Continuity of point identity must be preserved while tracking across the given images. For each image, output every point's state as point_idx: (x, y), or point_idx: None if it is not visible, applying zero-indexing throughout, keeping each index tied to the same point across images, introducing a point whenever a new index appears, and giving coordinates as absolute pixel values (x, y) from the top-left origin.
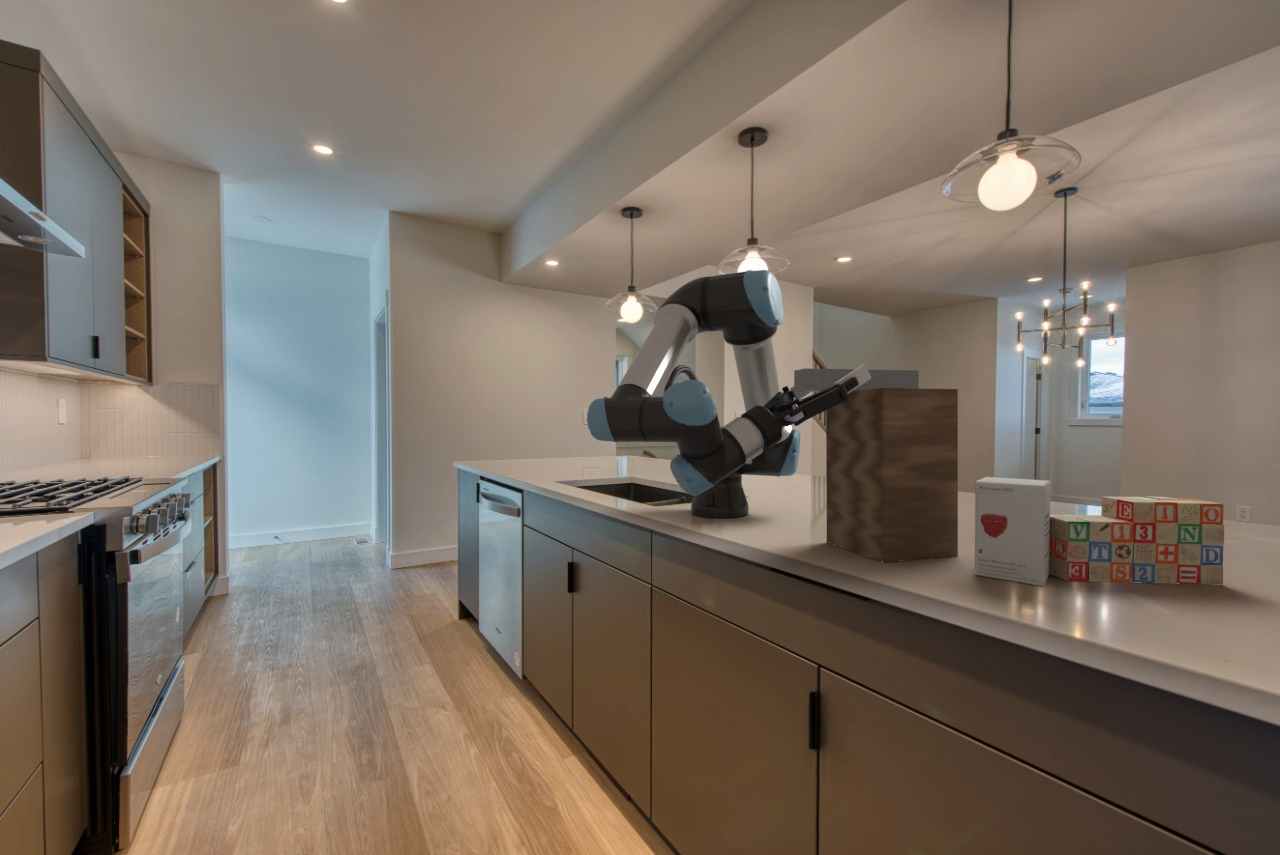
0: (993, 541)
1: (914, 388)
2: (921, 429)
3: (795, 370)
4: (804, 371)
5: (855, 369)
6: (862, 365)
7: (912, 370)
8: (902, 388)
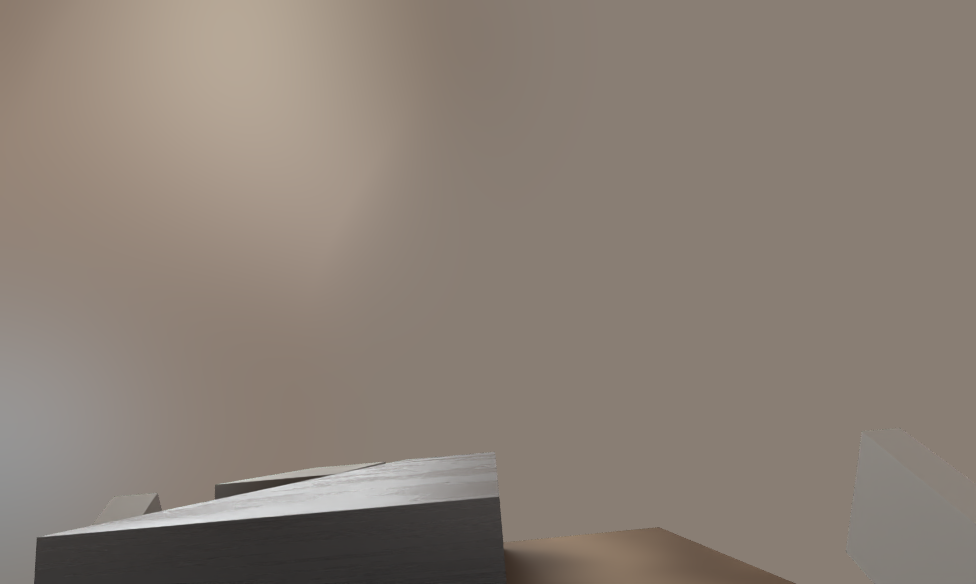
0: None
1: (745, 563)
2: None
3: (93, 536)
4: (467, 563)
5: (940, 483)
6: (903, 439)
7: (494, 452)
8: (783, 580)
